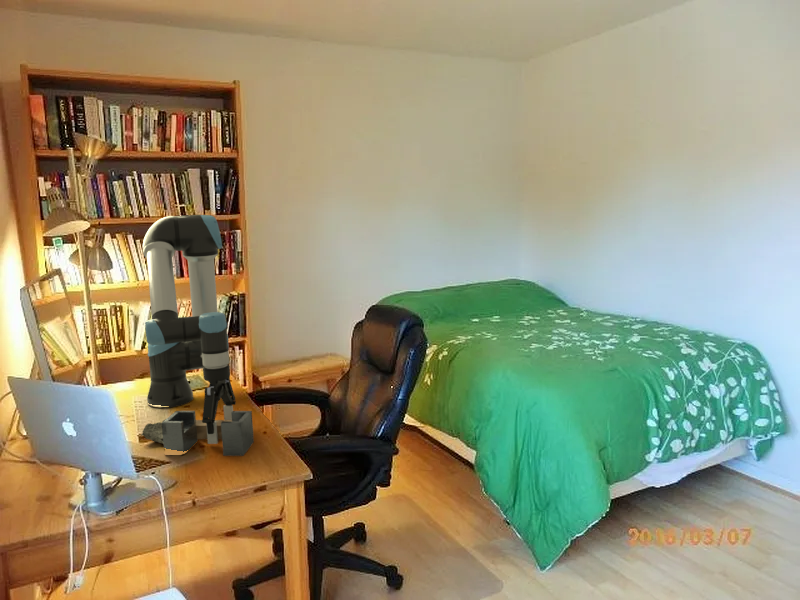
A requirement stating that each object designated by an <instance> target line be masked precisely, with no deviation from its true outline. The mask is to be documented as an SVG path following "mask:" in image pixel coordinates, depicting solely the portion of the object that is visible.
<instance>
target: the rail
mask: <svg viewBox="0 0 800 600" xmlns="http://www.w3.org/2000/svg"><path fill="white" fill-rule="evenodd" d="M215 421H216V424H217V436H218V440H222V431H221V422H222V421H232V420H224V419H215ZM252 423H253V421H252ZM253 424H254V423H253ZM196 428H197V439H198V440H208V439H207V427H206V423H202V419H196Z"/></svg>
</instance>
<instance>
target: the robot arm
mask: <svg viewBox="0 0 800 600" xmlns="http://www.w3.org/2000/svg"><path fill="white" fill-rule="evenodd" d="M222 242H223V241H222V237H221V232H220V228H219V224H218V221H217V218H216V217H215V216H214V215H211V214H210V215H209V214H192V215H191V214H190V215H168V216H167V215H166V216H165V217H163V218H162V217H161V218H159V219H158V220H157V221H155V222H154V223H153V224H152V225H151V226H150V227H149V229H148V230H147V232H146V233H145V236H144V238H143V243H142V254H143V256H144V258H146V261H147V262H146V263H147V264H146V265H147V273H148V276H147V277H148V289H149V298H150V299H149V300H150V311H151V314H150V315H151V319H148V320H146V321H145V323H144V325H145V326H144V327H145V338H146V343H147V344H148V345H147V357H148V361H149V365H148V366H149V374H150V375H149V376H150V385H149V388H148V389H149V390H148V393H147V397H146V400H147V404H148V403H149V404H152V405H161V406H169V408H174V407H175V408H176V407H180V406H183V405H186V404H188V403H190V402H191V401H193V399H194V392H193V389H192V387H191V385H190V383H189V381H188V378H187V371H193V370H202V372H203V373H202V374H203V380H204V381H207V382H208V383H209V386H208V387H205V388H204V398H203V399H204V401H203V409H202V418H201V420H202V423H206V427H207V439H206V440H207V445H208V444H209V445H217V444H218V443H219V439H218V436H217V424H216V421H215V420H216V416H217V411H218V406H219V401H221V400H222V403H223V404H224V405H223V418H224V419H223V420H232V416H231V412H232V411H234V406H235V405H236V404H237V402H236V396H235V392H234V390H233V387H232V383H231V366H230V353H229V346H230V345H229V335H228V329H227V326H228V322H227V319H226V315H225V313H223V312H220V311H218V299H217V298H218V297H217V285H216V271H215V269H216V268H215V258H216V257H217V256H218V254H219V250H220V249H222V248H223V243H222ZM178 251H179V252H181V253H182V257H183V258H185V259H186V260H187V265H188V266H187V267H188V279H189V281H188V282H189V289H190V290H189V292H190V303H191V304H190V305H191V316H181V317H179V311H178V302H177V293H176V292H177V291H176V283H175V282H176V281H175V274H174V264H173V257H174V255H175V254H176V253H175V252H178Z"/></svg>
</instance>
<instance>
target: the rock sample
mask: <svg viewBox="0 0 800 600" xmlns="http://www.w3.org/2000/svg"><path fill="white" fill-rule="evenodd" d="M141 436H143V437H144V438H145V439H146V440H151V441H152V442H153V443H159V444H163V433H162V421H160V422H155V423H152V422H151V423H150V422H149V423H147V424H146V425H145V426H144V428H143V430H142V432H141Z"/></svg>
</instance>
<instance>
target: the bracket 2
mask: <svg viewBox="0 0 800 600" xmlns="http://www.w3.org/2000/svg"><path fill="white" fill-rule="evenodd" d="M231 416H232V421H222V422H221V431H222V439H221V445H222V455H223V456H224V457H227V456H229V457H231V456H232V457H235V456H236V457H244V456H245V454H246V453H247V452H248V450H249V449H250V448H251V446H252V445H253V444H254V442H255V440H254V439H255V438H254V423H252V422H253V411H252V410H233V411H232V412H231Z"/></svg>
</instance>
